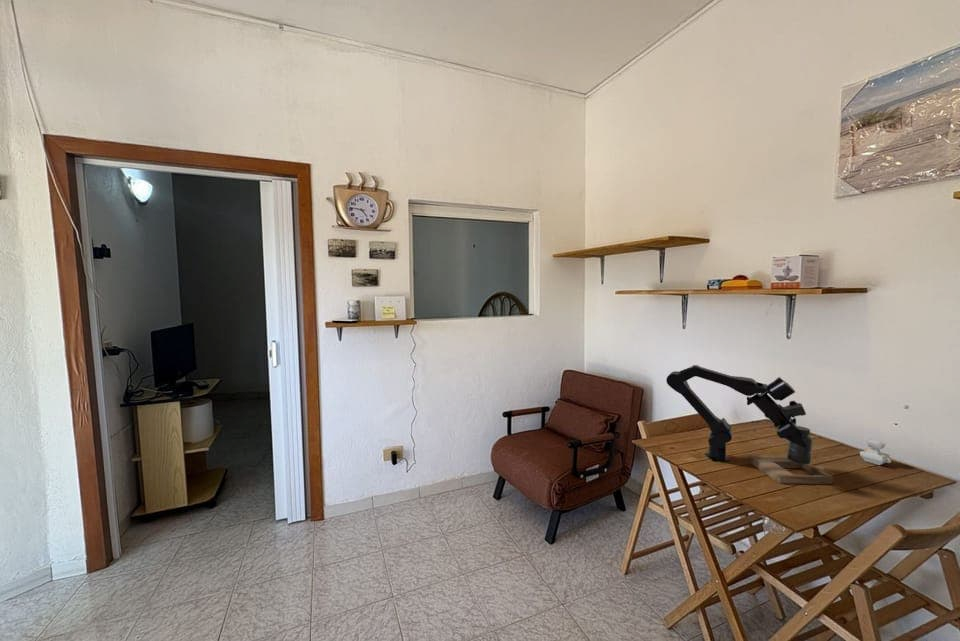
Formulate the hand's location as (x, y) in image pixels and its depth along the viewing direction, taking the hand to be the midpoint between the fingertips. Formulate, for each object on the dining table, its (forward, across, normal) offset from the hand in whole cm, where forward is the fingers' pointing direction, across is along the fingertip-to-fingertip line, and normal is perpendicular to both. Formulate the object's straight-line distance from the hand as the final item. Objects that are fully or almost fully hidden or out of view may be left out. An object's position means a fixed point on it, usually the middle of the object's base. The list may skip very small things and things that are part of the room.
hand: (805, 443), depth 141 cm
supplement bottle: (+4, 0, +6) cm, 7 cm away
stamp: (+25, +29, -8) cm, 39 cm away
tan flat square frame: (+6, +1, +11) cm, 13 cm away
